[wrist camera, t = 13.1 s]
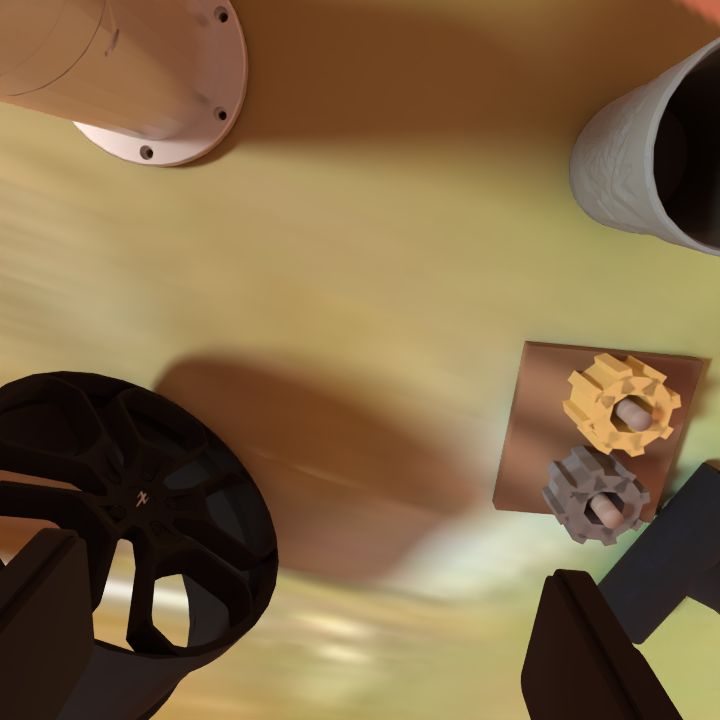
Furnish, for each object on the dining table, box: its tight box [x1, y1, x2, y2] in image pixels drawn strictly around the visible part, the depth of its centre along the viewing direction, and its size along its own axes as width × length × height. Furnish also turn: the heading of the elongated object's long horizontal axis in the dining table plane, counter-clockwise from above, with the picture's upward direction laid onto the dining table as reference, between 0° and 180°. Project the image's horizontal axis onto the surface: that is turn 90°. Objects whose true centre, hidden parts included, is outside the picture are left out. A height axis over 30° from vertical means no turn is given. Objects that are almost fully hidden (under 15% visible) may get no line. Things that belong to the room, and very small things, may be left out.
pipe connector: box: [597, 462, 720, 644], centre depth 41 cm, size 12×5×15 cm
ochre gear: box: [563, 353, 681, 457], centre depth 36 cm, size 6×6×4 cm
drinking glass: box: [569, 37, 720, 256], centre depth 28 cm, size 10×10×12 cm
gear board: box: [492, 341, 703, 546], centre depth 37 cm, size 14×13×6 cm
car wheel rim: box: [0, 371, 279, 720], centre depth 31 cm, size 20×10×20 cm, turn 47°
